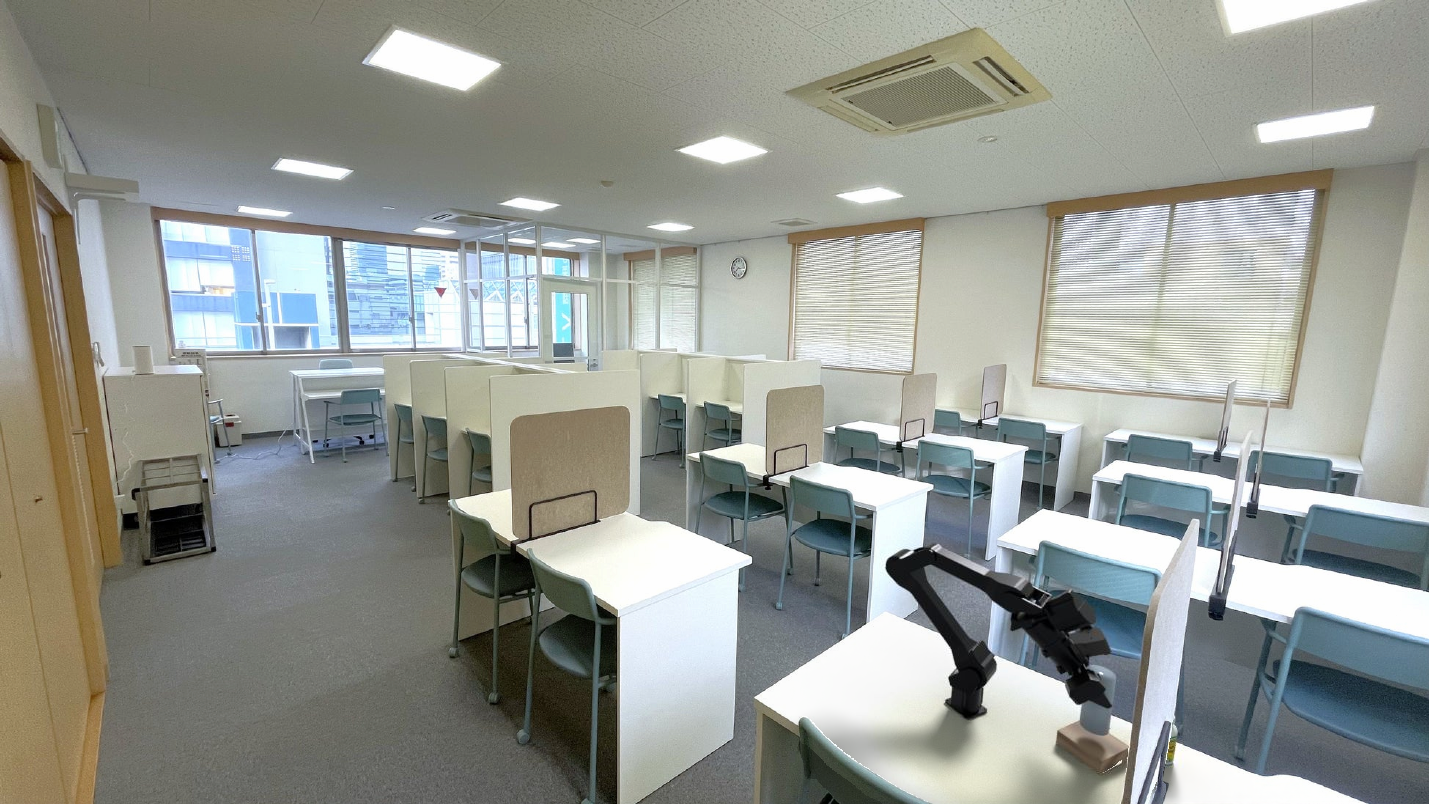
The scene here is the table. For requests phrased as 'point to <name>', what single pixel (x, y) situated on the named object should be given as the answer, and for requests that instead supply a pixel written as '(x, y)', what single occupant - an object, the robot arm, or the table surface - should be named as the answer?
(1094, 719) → the slate bottle
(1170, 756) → the supplement bottle
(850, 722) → the table surface
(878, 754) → the table surface
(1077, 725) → the walnut base
